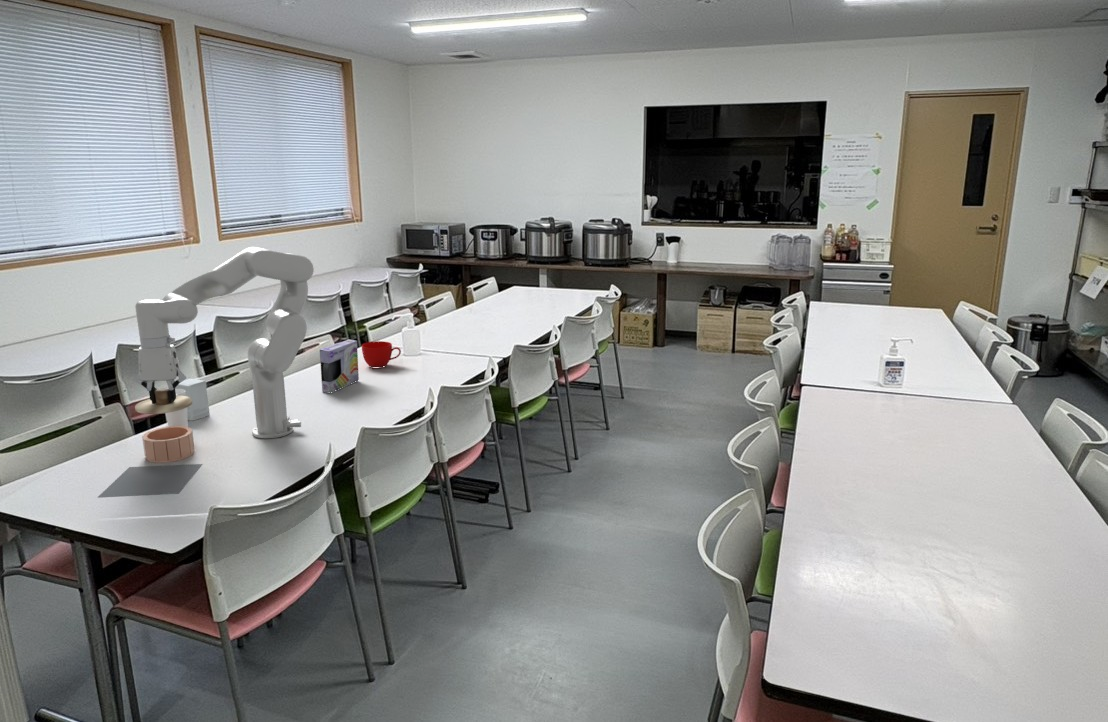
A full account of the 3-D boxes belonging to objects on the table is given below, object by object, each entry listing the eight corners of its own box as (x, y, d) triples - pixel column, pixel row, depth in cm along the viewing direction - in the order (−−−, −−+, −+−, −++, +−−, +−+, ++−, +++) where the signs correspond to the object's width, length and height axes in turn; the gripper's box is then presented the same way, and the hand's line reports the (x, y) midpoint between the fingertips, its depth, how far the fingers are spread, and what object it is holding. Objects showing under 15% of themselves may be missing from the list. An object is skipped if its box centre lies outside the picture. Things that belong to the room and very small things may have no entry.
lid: (198, 396, 221) (197, 382, 220) (182, 412, 207) (180, 397, 206) (146, 399, 219) (144, 383, 218) (126, 415, 205) (124, 399, 203)
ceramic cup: (398, 370, 312) (397, 348, 309) (359, 370, 312) (358, 347, 309) (404, 363, 324) (403, 341, 321) (367, 362, 324) (366, 341, 322)
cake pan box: (330, 394, 278) (326, 350, 273) (319, 393, 279) (316, 349, 275) (360, 381, 295) (358, 339, 290) (350, 380, 297) (347, 338, 292)
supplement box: (210, 414, 253) (206, 380, 250) (192, 421, 247) (188, 386, 243) (195, 411, 256) (191, 377, 253) (177, 417, 250) (173, 383, 246)
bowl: (200, 446, 224) (197, 425, 222) (185, 462, 212) (183, 440, 210) (155, 448, 222) (152, 426, 221) (138, 464, 210) (135, 442, 208)
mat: (202, 465, 210) (202, 463, 210) (178, 494, 191) (178, 493, 191) (129, 468, 207) (129, 467, 207) (97, 498, 188) (97, 497, 188)
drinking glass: (181, 440, 229) (175, 395, 225) (162, 438, 230) (157, 393, 227) (195, 433, 236) (190, 389, 232) (177, 431, 237) (172, 387, 233)
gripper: (190, 338, 213) (197, 397, 218) (129, 340, 210) (138, 399, 215) (181, 344, 206) (189, 405, 210) (118, 346, 203) (128, 407, 208)
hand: (163, 401), depth 213 cm, fingers closed on lid, 4 cm apart
